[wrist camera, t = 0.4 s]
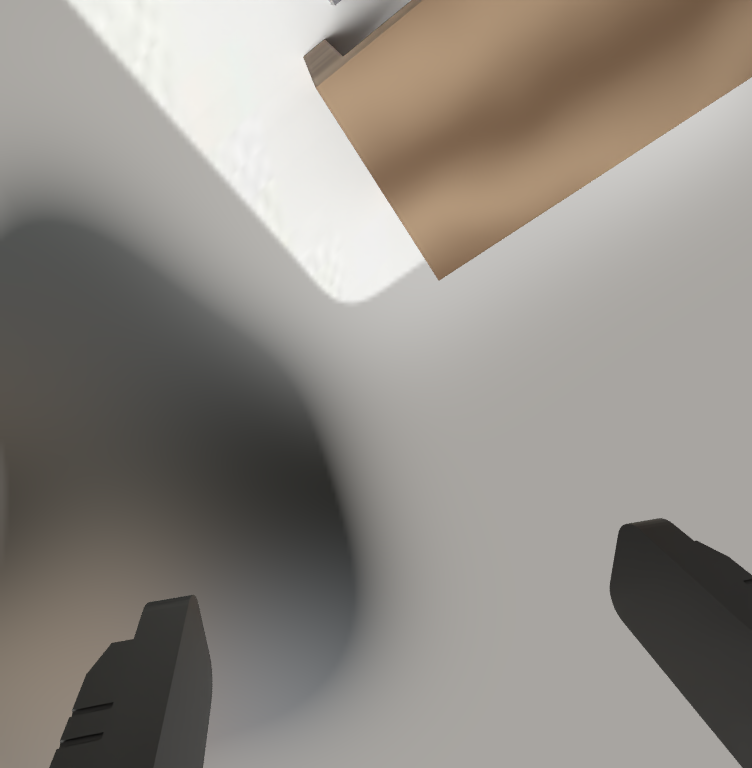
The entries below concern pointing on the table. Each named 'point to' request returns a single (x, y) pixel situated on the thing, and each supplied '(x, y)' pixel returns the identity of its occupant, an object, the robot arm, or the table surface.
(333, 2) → the tray
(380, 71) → the small wooden table
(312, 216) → the table surface
